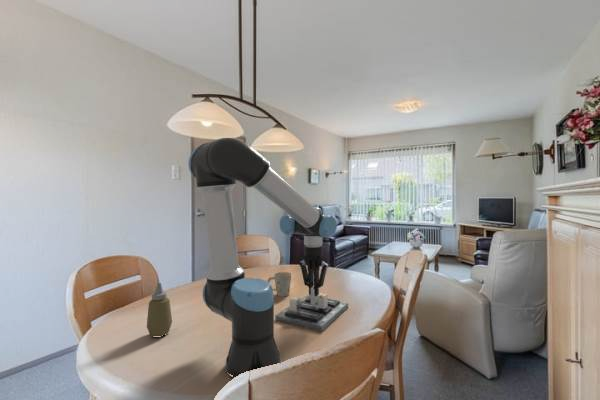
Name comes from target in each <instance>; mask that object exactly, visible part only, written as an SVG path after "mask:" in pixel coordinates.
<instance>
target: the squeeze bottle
mask: <svg viewBox="0 0 600 400" xmlns="http://www.w3.org/2000/svg"><path fill="white" fill-rule="evenodd" d="M167 296H168V294H167V292H166V291H164V289H163V285H162V283H161V282H157V283H156V287H155V292H153V293H152V294H151V299H150V301H149V302H148V308H147V309H148V310H147V319H146V329H147V331H148V334H149V336H150V335H151V336H162V335H165V334H167V333H168V332H169V333H170V329H171V327H172V323H173V317H172V309H171V302H170V301H171V300H170V298H169V297H167ZM169 333H168V334H169ZM168 334H167V335H168ZM151 336H150V337H151ZM165 336H166V335H165Z"/></svg>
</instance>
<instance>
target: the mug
mask: <svg viewBox="0 0 600 400" xmlns="http://www.w3.org/2000/svg"><path fill="white" fill-rule="evenodd" d="M272 280H274V283H275V288H273V292H274V291H276V296H277V297H282V298H283V297H288V296H289V295H290V291H291V290H290V289H291V281H292V273H291V272H287V271H280V272H276V273H274V275H273V276H270V277H269V278H268V279H267V282H268V283H269V284H270V282H271V281H272Z"/></svg>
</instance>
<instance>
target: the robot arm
mask: <svg viewBox="0 0 600 400" xmlns="http://www.w3.org/2000/svg"><path fill="white" fill-rule="evenodd" d="M188 169H189V171H190V174H191V176H193V177H194V178H195V182H196V188H197V190H198V191H200V192H201V193H202V197H203V205H204V206H203V207H204V215H205V216H204V217H205V226H206V235H207V244H208V245H207V246H208V252H209V253H208V255H209V264H210V270H209V271H208V273H207V274H206V281H205V284H204V285H203V288H202V299H203V302H204V304H205V305H206V308H208V309H210V311H211V312H213V313H214V314H217V315H219V316H221V317H223V318H225V319H226V320H228V321H229V322H231V343H230V346H229V349H228V353H227V356H226V359H225V371H226V370H227V372H228V373H229V374H231V375H233V378H234V377H236V376H238V375H239V374H241V373H244V372H246V371H250V370H253V369H257V368H261V367H265V366H269V365H273V364H277V363H280V364H281V354H280V351H279V350H278V346H277V342H276V340H275V335H274V334H275V333H274V332H275V331H274V328H275V325H274V324H275V323H274V321H275V319H274V318H275V316H274V315H275V314H274V313H275V312H274V311H275V307H274V306H275V304H274V302H275V297H274V296H275V295H274V291H273V289H274V288H273V287H272V284H271V283H270V282H269V283H268V282H267V281H266V280H265V279H262V278H255V277H246V276H245V269H244V268H243V267H241V265H240V264H239V263H240V262H239V254H238V244H237V231H236V225H235V224H236V222H235V211H234V203H233V202H234V200H233V194H232V193H233V189H234V188H235V186H237V183H236V181H238V182H240V183H242V184H243V185H244V186H246V187H247V188H254V189H255V190H257V192H259V193H260V194H261V195H263V196H264V198H266V199H268V200H269V201H270V202H271V203H273V204H274V205H276V206H277V207H278V208H279V209H280V210H282V211H283V212H284V213H286V214H284V215H282V216H281V217H280V220H279V229H280V231H281V233H283V234H284V235H295V234H296V235H304V236H303V245H304V248H303V250H304V251H303V252H304V254H303V255H304V257H303V260H301V261H299V262H298V265H299V267H300V269H301V275H302V279H303V284H304V285H305V286H306V287H308V296H309V295H311V304H312V305H314V304H316V303H317V296H318V295H319V294H320V291H319V290H320V289H319V288H322V287H323V286H324V283H325V278H326V274H327V269H328V268H329V266H330V264H329V263H326V261H324V258H323V255H324V254H323V252H324V251H323V250H324V249H323V247H324V246H323V238H331V237H332V236H334V235H335V234H336V232H337V229H338V225H337V224H338V223H337V220H336V218H335V217H334V216H333V215H329V214H324V213H323V210H322V209H321V208H320V207H315V206H314V205H313V204H312V203H310V202H309V201H308V200H307V199H306V198H305V197H304V196H302V194H300V192H298V191H297V190H296V189H295V188H294V187H292V185H290V184H289V182H287V181H286V180H285V179H284V178H282V177H281V176H280V175H279V174H278V173H277V172H276V171H275V170H273V169H272V168H271V164H270V161H268V160H267V159H266V158H265V157H264V156H263V155H262V154H261V153H260V152H258V151H257V150H256V149H254V148H253V147H251V146H250V145H248V144H247V143H245V142H244V141H241V140H239V139H237V138H233V137H222V138H218V139H216V140H213V141H209V142H205V143H202V144H200V145H199V146H197V147H196V148H194V149H193V151H192V152H191V153H190V155H189V158H188ZM320 268H321V270H320ZM313 286H314V287H313ZM227 372H226V373H227ZM233 378H232V379H233Z"/></svg>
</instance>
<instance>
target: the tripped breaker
mask: <svg viewBox="0 0 600 400" xmlns="http://www.w3.org/2000/svg"><path fill="white" fill-rule="evenodd" d="M328 299H329V298H328V293H324V292H319V295H318V308H322V309H325V308H326V307H328Z"/></svg>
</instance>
